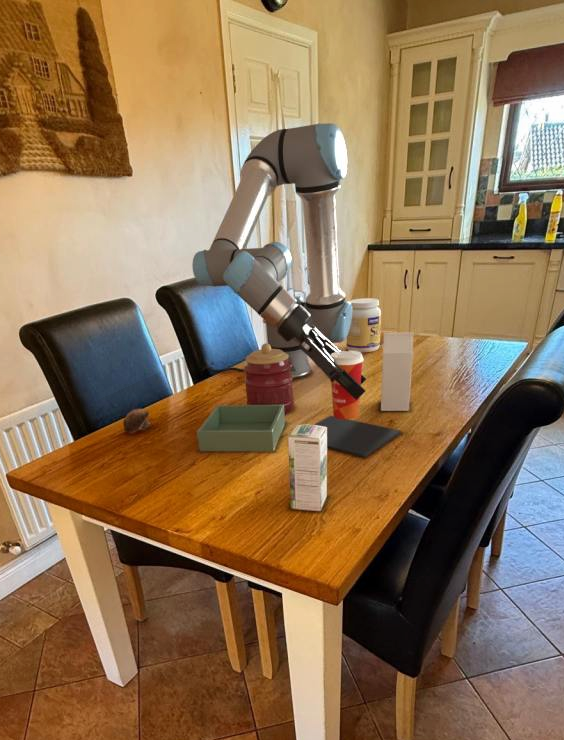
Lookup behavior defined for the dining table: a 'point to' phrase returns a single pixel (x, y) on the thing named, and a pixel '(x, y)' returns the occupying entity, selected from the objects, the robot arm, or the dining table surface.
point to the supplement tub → (364, 325)
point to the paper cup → (342, 400)
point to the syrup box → (308, 467)
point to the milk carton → (396, 371)
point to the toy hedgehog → (136, 420)
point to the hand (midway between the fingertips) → (361, 389)
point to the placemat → (355, 436)
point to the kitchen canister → (269, 378)
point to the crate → (242, 428)
